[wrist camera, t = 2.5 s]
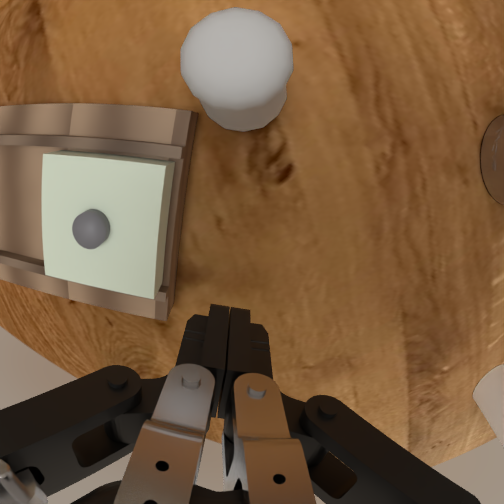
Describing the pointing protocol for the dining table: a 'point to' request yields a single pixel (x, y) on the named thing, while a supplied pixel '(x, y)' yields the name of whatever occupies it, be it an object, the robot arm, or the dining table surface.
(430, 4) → the dining table surface
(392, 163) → the dining table surface
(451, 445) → the dining table surface
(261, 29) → the salt shaker
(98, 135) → the board
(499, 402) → the cylindrical container
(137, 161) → the cover
